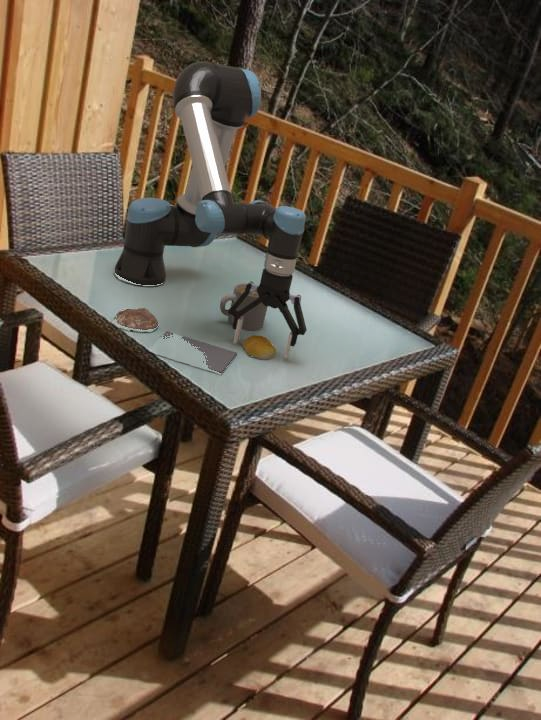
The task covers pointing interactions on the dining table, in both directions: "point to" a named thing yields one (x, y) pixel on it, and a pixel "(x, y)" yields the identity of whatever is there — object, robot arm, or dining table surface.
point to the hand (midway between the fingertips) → (261, 348)
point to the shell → (137, 319)
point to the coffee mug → (251, 318)
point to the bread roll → (259, 347)
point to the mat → (211, 353)
